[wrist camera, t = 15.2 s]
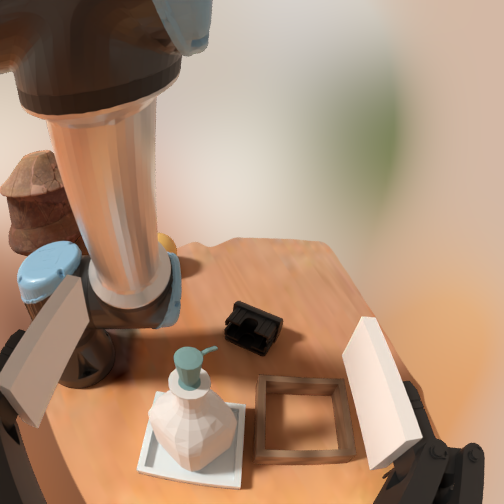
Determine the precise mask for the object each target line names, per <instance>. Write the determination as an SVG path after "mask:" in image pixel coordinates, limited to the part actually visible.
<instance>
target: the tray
mask: <svg viewBox="0 0 504 504" xmlns="http://www.w3.org/2000/svg"><path fill="white" fill-rule="evenodd" d="M163 394H165V393H163V392H158V391H156V394H155V398H154V402H153V404H154V403H155V401H156V400H157V399H158V398H159V397H161V396H162V395H163ZM225 403H226V404H227V405H228V406H229V407H230V409H231V410H232V412H233V414H234V416H235V419H236V421H237V425H236V430H235V434H234V439H233V442H232V444H231V446H230V448H229V449H227V450H226V451H225V452H224V453H222V454H221V455H220V456H218V457H217V458H216V459H215V460H213V461H212V462H211V463H209V464H208V465H207V466H205V467H204V468H202V469H201V470H198V471H193V472H191V471H188V470H186V469H184V468H182V467H181V466H180V465H179V464H178V463H177V462H176V461H175V460H174V459H173V458H172V457H171V456H170V455H169V453H168V452H167V451H166V450H165V449H164V448H163V447H162V446H161V444H160V443H159V442H158V441H157V439H156V437H155V434H154V431H153V428H152V426H151V423H150V419H149V421H148V425H147V429H146V433H145V437H144V441H143V445H142V449H141V453H140V457H139V461H138V466H137V471H138V473H140V474H144V475H148V476H152V477H157V478H161V479H166V480H171V481H176V482H182V483H188V484H194V485H201V486H208V487H216V488H225V489H236V490H239V489H240V487H241V473H242V457H243V441H244V425H245V408H246V404H236V403H228V402H225Z"/></svg>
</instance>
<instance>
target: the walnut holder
mask: <svg viewBox="0 0 504 504" xmlns="http://www.w3.org/2000/svg"><path fill="white" fill-rule="evenodd" d="M266 393H276V394H293V395H322V396H332V402H333V409H334V417H335V424H336V432H337V441H338V449H339V450H307V451H295V450H265V415H266ZM354 456H356V449H355V442H354V436H353V429H352V423H351V417H350V411H349V405H348V399H347V393H346V388H345V382H344V379H325V378H301V377H284V376H271V375H259V377H258V380H257V384H256V398H255V423H254V448H253V464H268V465H321V464H339V463H347V462H348V461H350V460H351V459H352V458H353V457H354Z"/></svg>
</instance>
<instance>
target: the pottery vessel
mask: <svg viewBox="0 0 504 504" xmlns="http://www.w3.org/2000/svg"><path fill="white" fill-rule="evenodd" d="M0 193H1V194H2V195H3V196H6V197H7V202H8V207H9V213H10V218H11V223H12V224H11V228H10V231H9V245H10V247H11V249H12V250H13V251H15V252H16V253H18V254H21V255H25V256H29V255H30V254H31V253H33V252H34V251H36V250H37V249H39V248H40V247H42V246H44V245H47V244H50V243H53V242H58V241H70V242H72V243H74V242H75V241H76V240H77V239H78V237H79V236H80V235H81V233H80V230H79V228H78V225H77V222H76V220H75V217H74V214H73V212H72V209H71V206H70V203H69V200H68V197H67V194H66V191H65V188H64V185H63V182H62V179H61V175H60V172H59V169H58V165H57V162H56V158H55V155H54V153H53V152H51V151H50V150H44V151H36V152H33V153H30V154H28V155H25V156H24V157H23V158H22V159H21V161H20V162H19V163H18V165H17V166H16V167H15V169H14V170H13V172H12V173H11V175H10V177H9V178H8V179H7V180H6V181H5V183H4V184H3V185H2V186H1V187H0Z"/></svg>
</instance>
